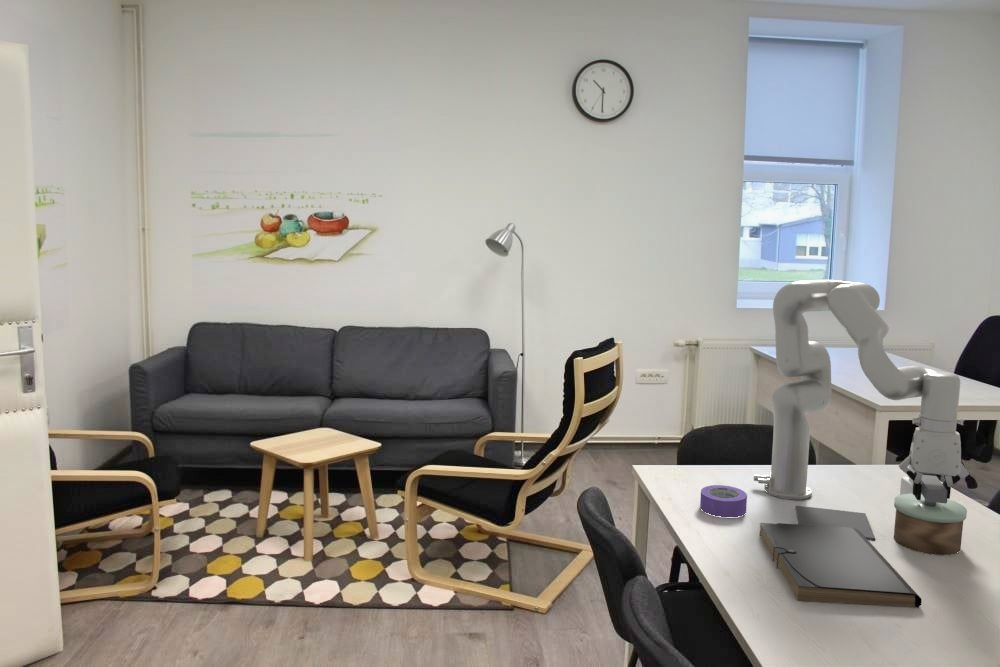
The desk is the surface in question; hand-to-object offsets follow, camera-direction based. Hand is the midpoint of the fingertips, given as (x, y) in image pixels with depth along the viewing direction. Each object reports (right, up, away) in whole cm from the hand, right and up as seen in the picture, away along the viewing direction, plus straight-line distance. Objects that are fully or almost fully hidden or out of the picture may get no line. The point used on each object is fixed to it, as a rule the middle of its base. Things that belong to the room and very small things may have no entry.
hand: (930, 498), depth 182 cm
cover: (0, -3, 0) cm, 3 cm away
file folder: (-29, -13, -12) cm, 34 cm away
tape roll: (-43, -8, +22) cm, 49 cm away
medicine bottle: (+11, -8, +25) cm, 28 cm away
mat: (-17, -9, +13) cm, 24 cm away
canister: (0, -11, +2) cm, 11 cm away
